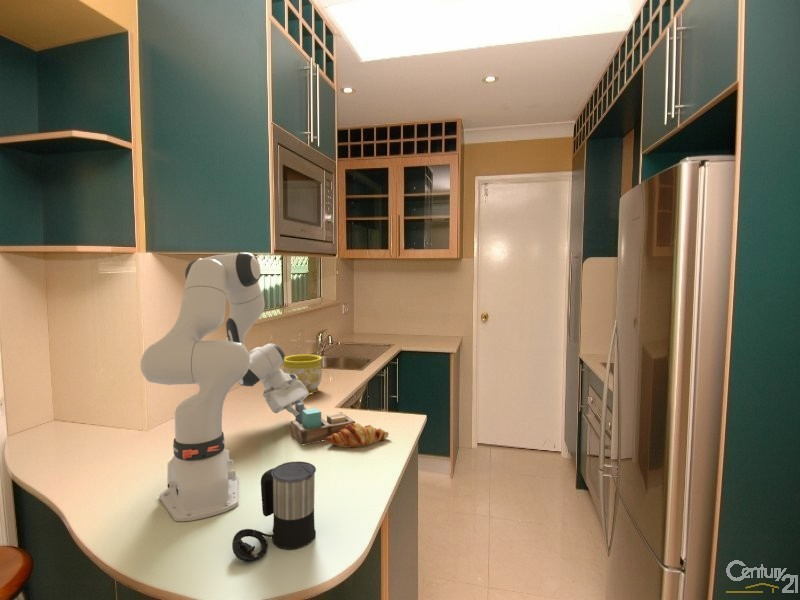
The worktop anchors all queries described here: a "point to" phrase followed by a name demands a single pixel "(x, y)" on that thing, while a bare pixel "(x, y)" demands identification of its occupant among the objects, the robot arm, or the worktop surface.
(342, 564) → the worktop surface
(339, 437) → the croissant
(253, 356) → the robot arm
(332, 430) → the tray
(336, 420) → the oak block
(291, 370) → the flowerpot
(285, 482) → the milk frother
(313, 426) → the block
